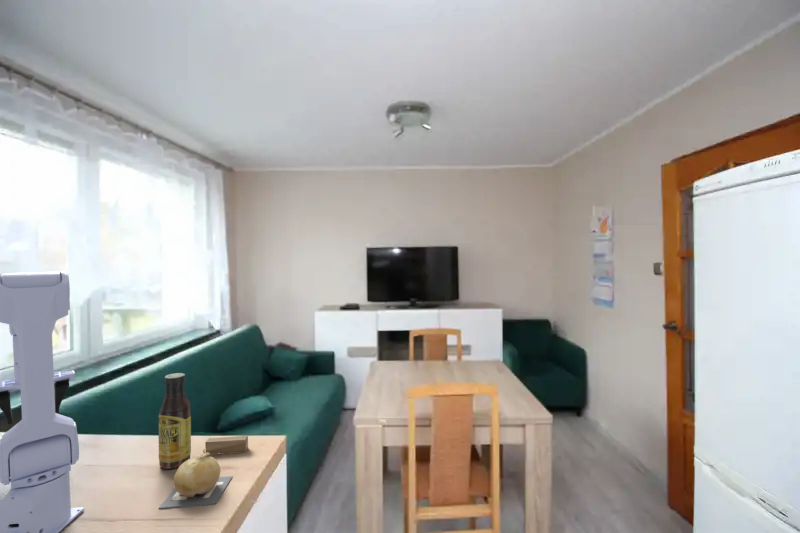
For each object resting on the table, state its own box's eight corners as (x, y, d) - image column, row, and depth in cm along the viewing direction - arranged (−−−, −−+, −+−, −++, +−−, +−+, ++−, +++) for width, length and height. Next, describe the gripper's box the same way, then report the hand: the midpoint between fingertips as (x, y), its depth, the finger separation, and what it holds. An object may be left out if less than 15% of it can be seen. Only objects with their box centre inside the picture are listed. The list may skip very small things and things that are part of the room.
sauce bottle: (152, 469, 84) (148, 378, 84) (175, 455, 90) (171, 370, 90) (177, 472, 83) (173, 380, 82) (198, 457, 89) (195, 371, 88)
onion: (208, 503, 71) (206, 465, 71) (165, 504, 71) (163, 466, 71) (227, 478, 79) (226, 444, 79) (188, 479, 79) (187, 445, 79)
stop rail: (245, 452, 91) (245, 439, 90) (205, 455, 90) (205, 442, 90) (248, 448, 93) (247, 435, 92) (209, 450, 92) (208, 438, 92)
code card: (215, 504, 71) (215, 502, 71) (158, 508, 70) (158, 507, 70) (232, 477, 80) (232, 475, 80) (182, 480, 79) (182, 479, 79)
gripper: (72, 348, 95) (73, 400, 96) (-15, 361, 84) (-12, 419, 86) (75, 358, 90) (76, 412, 91) (-17, 372, 79) (-13, 433, 81)
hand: (34, 416), depth 88 cm, fingers open, 7 cm apart
